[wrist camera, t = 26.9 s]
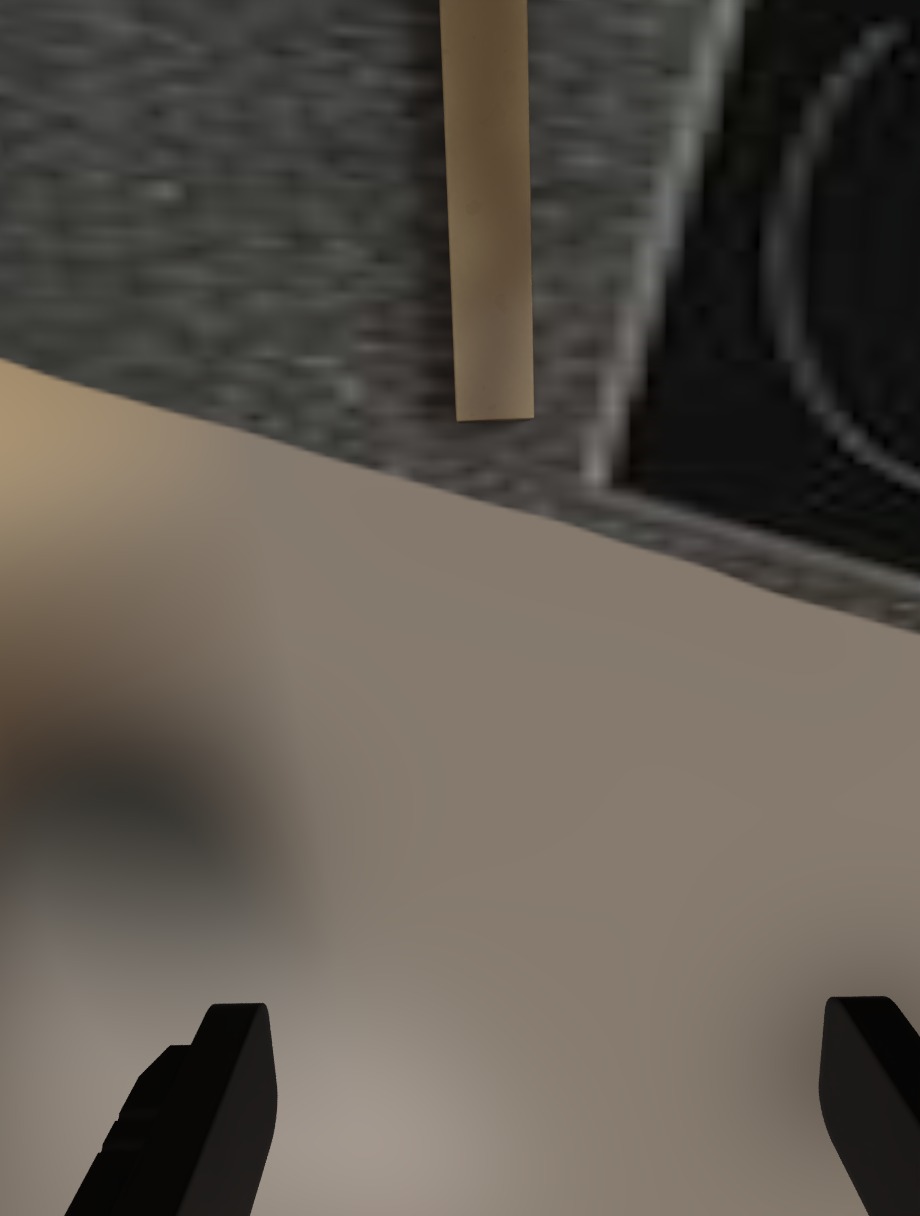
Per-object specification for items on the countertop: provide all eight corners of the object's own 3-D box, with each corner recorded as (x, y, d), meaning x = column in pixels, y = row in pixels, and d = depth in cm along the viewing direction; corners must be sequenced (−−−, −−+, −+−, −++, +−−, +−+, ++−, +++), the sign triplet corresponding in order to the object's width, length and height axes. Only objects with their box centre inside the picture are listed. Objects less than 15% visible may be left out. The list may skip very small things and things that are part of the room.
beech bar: (458, 423, 31) (456, 421, 28) (434, -178, 26) (429, -255, 23) (529, 420, 31) (534, 418, 28) (517, -184, 26) (522, -262, 23)
